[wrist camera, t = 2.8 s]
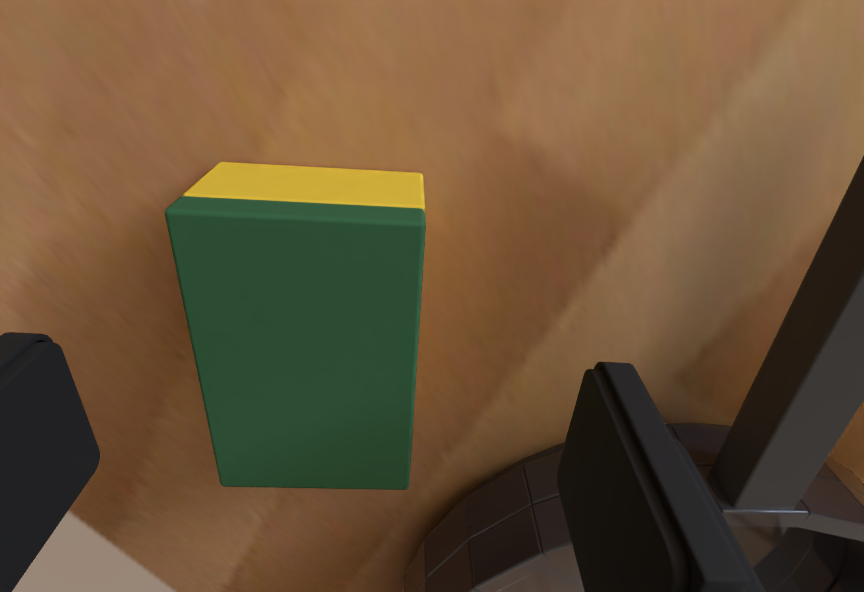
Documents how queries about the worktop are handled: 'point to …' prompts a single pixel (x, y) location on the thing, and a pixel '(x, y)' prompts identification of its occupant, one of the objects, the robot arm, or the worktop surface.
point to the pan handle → (804, 375)
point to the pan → (553, 551)
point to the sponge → (304, 320)
